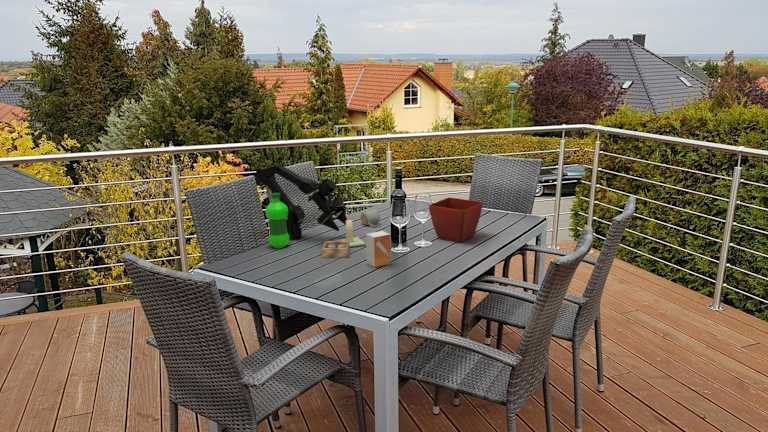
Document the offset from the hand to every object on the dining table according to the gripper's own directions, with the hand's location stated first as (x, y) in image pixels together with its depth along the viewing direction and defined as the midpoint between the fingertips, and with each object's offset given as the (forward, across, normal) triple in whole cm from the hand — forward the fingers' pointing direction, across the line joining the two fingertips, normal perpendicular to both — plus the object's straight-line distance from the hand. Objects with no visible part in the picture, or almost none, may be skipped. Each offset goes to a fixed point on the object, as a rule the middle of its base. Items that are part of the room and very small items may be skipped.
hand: (343, 228), depth 255 cm
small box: (+25, -19, -14) cm, 35 cm away
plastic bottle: (-12, -15, +24) cm, 31 cm away
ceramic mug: (+4, +34, +7) cm, 35 cm away
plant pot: (+37, +28, -27) cm, 54 cm away
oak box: (+8, -14, +2) cm, 17 cm away
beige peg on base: (+7, 0, +3) cm, 8 cm away
